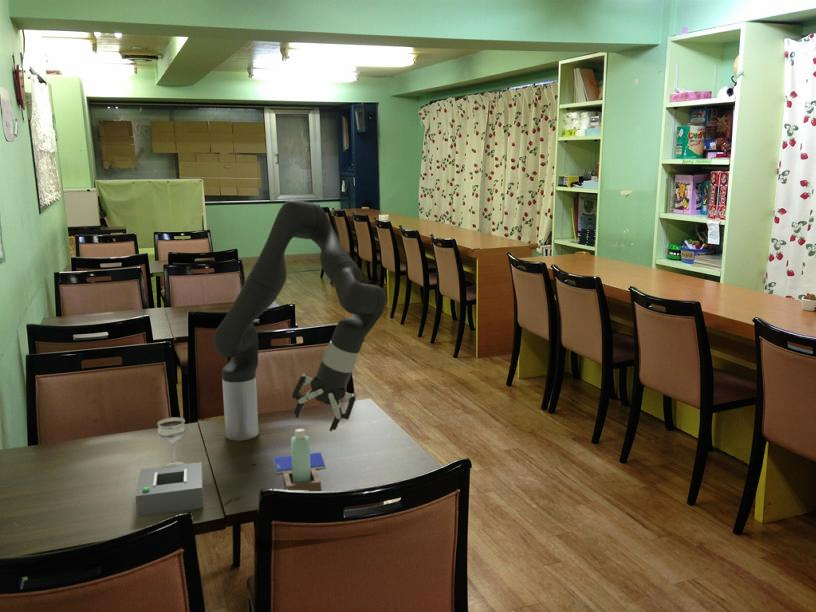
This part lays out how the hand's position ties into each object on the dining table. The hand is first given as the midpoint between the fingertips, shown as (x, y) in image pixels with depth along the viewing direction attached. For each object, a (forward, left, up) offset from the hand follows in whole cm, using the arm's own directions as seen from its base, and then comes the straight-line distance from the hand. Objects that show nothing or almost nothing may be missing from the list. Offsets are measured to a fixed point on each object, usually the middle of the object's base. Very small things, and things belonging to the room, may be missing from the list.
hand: (314, 423), depth 162 cm
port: (-4, -33, -16) cm, 37 cm away
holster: (-2, -3, -16) cm, 17 cm away
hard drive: (-14, -2, -17) cm, 23 cm away
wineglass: (-22, -33, -17) cm, 43 cm away
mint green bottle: (-2, -3, -17) cm, 17 cm away
